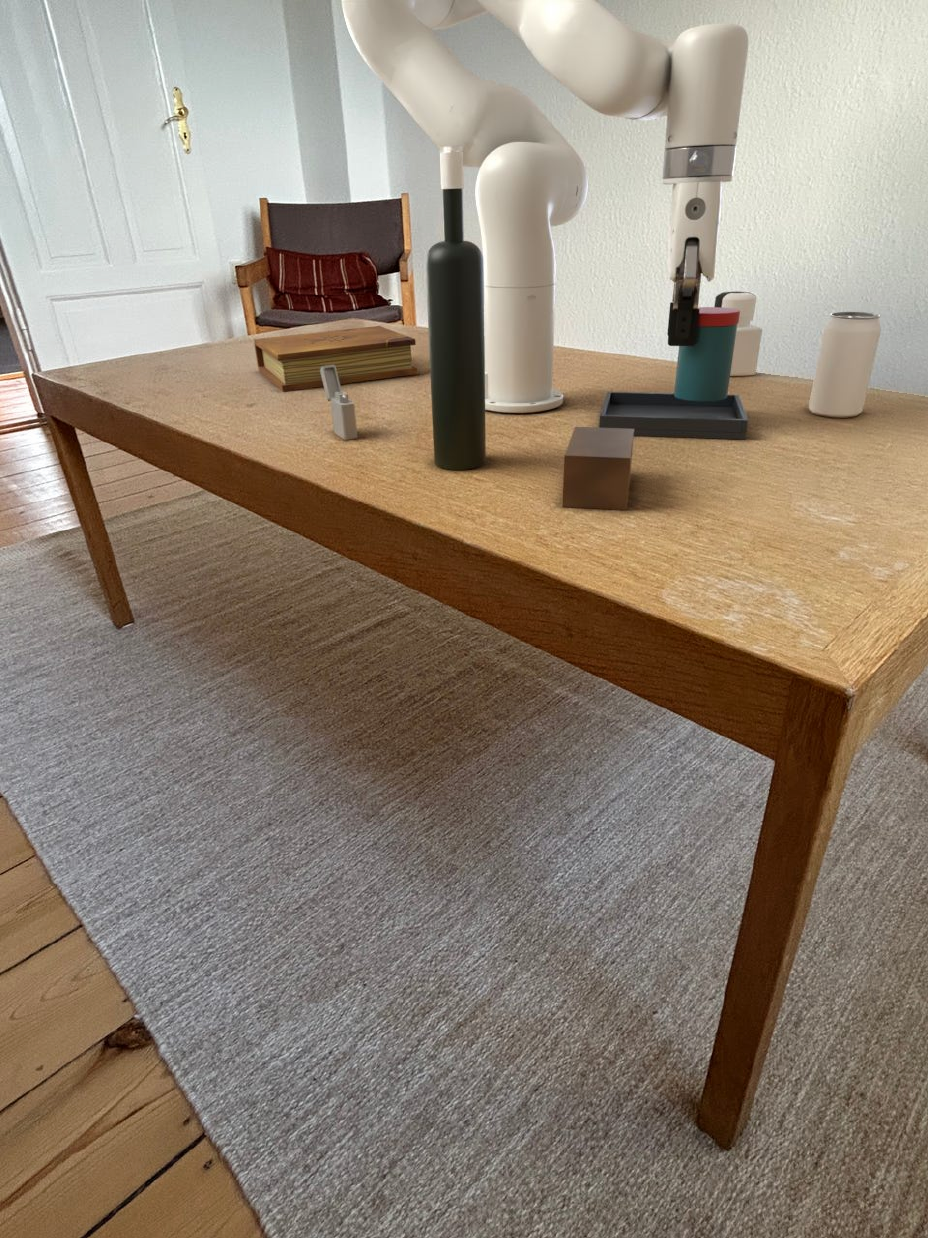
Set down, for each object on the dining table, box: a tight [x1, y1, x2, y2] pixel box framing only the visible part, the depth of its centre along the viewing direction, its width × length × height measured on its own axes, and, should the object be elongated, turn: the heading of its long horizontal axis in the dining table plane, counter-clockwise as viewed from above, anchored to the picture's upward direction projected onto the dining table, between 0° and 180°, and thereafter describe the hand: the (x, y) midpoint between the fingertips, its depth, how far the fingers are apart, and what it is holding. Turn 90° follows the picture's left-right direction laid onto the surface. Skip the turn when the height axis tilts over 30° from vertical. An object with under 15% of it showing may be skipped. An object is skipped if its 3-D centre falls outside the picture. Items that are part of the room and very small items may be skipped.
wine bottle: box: [424, 146, 487, 471], centre depth 77 cm, size 6×6×30 cm
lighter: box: [320, 365, 359, 441], centre depth 94 cm, size 7×2×8 cm, turn 28°
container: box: [673, 306, 740, 402], centre depth 91 cm, size 12×7×12 cm
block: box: [561, 426, 635, 511], centre depth 74 cm, size 6×10×5 cm, turn 167°
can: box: [808, 311, 882, 419], centre depth 96 cm, size 6×6×12 cm
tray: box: [598, 391, 749, 441], centre depth 96 cm, size 17×13×2 cm
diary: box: [253, 325, 419, 392], centre depth 129 cm, size 23×19×6 cm
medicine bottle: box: [713, 290, 763, 377], centre depth 119 cm, size 7×7×12 cm
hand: (681, 339), depth 91 cm, fingers closed on container, 5 cm apart
